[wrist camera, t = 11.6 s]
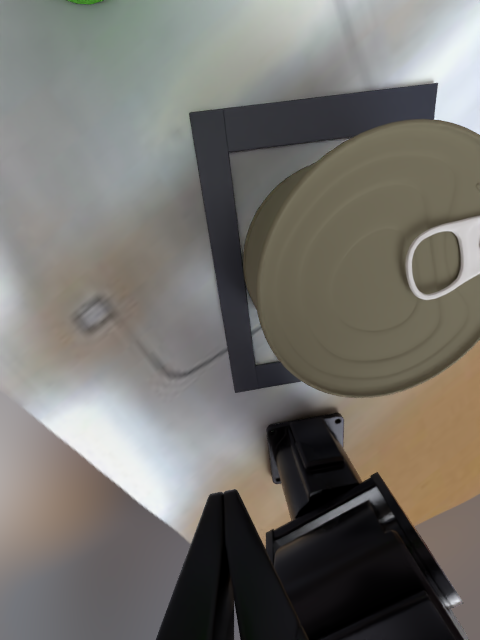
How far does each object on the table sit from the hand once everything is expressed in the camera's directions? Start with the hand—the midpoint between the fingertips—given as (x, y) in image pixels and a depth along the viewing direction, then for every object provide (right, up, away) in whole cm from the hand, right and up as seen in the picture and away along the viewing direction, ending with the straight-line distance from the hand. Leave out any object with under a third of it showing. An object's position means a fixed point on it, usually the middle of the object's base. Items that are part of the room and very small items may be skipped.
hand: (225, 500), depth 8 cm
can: (+6, +9, +10) cm, 15 cm away
